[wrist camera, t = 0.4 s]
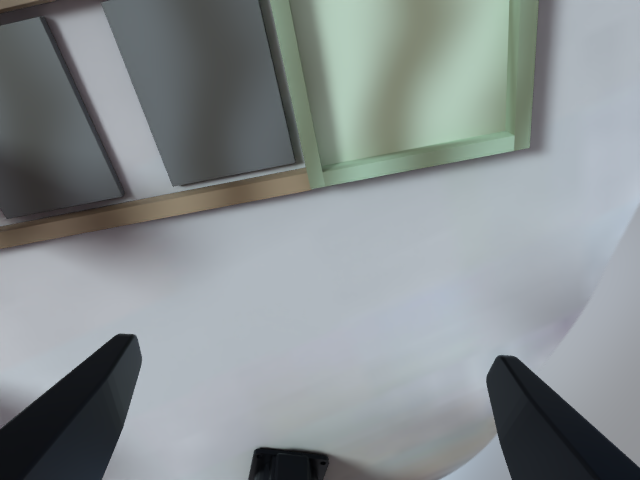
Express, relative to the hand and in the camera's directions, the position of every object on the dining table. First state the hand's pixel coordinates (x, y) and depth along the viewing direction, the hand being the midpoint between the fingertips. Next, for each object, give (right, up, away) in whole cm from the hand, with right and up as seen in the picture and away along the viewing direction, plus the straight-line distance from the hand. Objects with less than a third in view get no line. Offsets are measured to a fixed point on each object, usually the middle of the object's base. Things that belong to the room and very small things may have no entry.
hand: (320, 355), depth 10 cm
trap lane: (-8, +10, +10) cm, 17 cm away
